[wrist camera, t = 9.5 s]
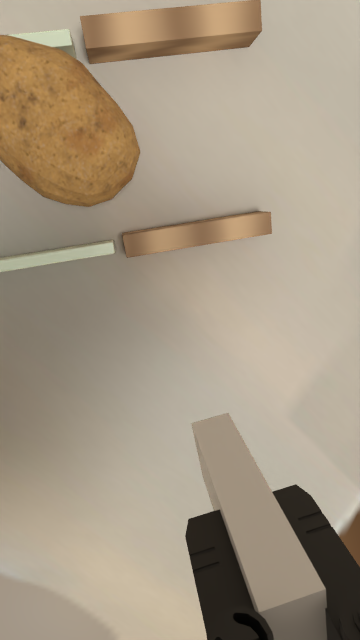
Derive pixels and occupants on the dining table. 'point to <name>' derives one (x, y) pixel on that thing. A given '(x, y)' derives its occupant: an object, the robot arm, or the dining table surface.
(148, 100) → the dining table surface
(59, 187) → the potato
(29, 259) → the frame
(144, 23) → the channel
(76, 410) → the dining table surface
